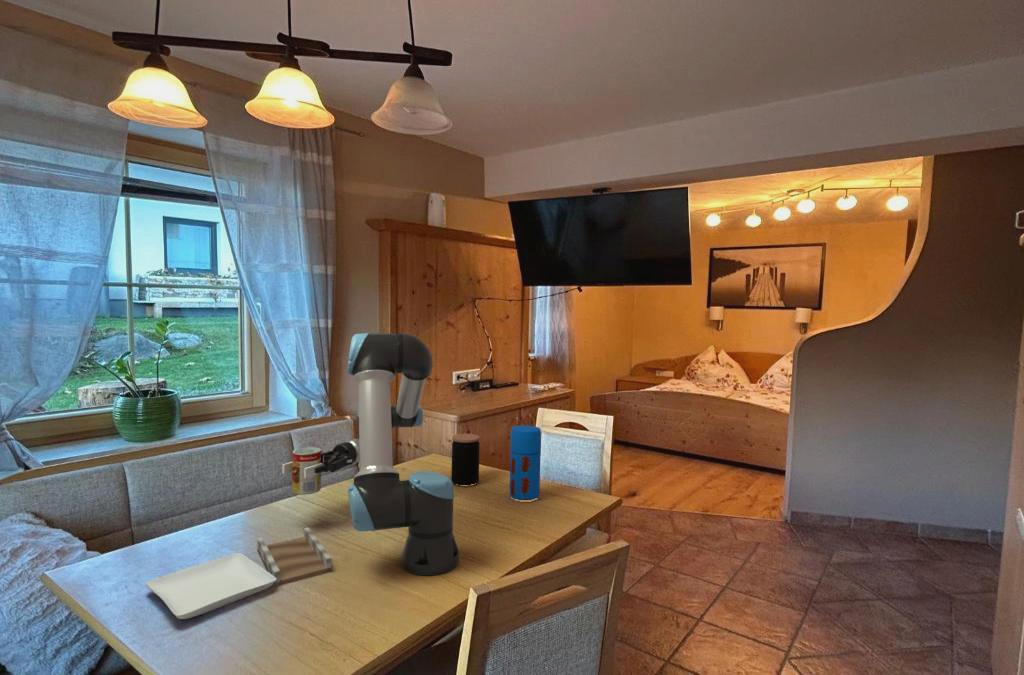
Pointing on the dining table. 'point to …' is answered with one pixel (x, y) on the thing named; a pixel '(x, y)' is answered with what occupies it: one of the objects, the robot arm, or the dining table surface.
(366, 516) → the robot arm
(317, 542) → the track
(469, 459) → the coffee jar
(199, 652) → the dining table surface
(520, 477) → the thermos
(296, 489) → the canned food
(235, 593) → the salad plate
